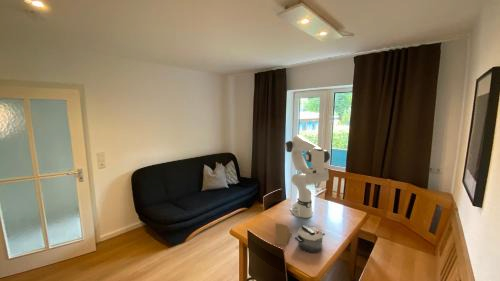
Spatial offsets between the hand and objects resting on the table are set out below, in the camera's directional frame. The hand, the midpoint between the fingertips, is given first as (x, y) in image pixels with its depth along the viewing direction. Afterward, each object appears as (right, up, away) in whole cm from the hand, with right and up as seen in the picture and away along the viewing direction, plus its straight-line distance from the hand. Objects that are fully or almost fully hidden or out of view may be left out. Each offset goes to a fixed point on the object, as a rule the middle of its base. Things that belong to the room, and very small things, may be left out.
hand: (317, 187), depth 157 cm
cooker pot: (-8, -39, -10) cm, 41 cm away
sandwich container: (-25, -38, -1) cm, 45 cm away
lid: (-8, -30, -12) cm, 33 cm away
